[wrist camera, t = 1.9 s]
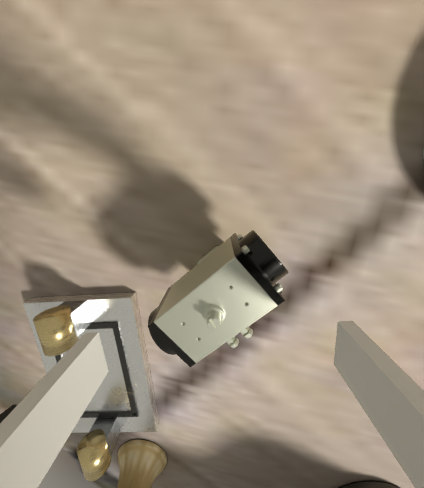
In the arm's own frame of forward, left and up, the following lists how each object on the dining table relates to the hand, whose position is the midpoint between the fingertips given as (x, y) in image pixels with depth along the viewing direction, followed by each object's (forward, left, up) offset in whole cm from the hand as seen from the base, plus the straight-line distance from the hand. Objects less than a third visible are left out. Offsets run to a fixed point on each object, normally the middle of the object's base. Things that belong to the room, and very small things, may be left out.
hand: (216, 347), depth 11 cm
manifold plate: (-14, +18, -14) cm, 27 cm away
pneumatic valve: (0, 0, -14) cm, 14 cm away
